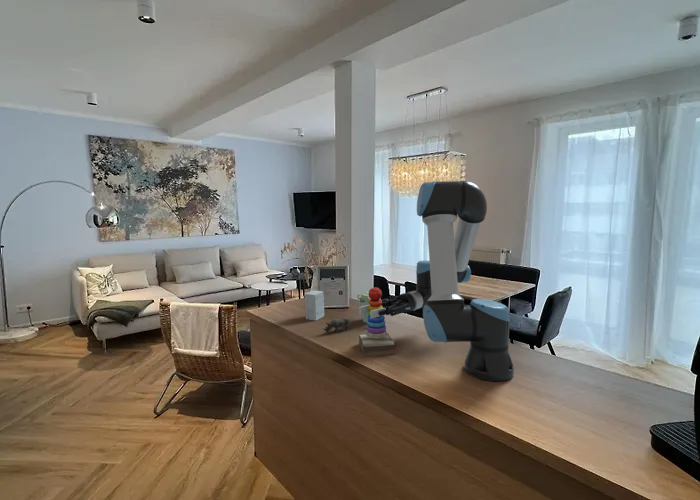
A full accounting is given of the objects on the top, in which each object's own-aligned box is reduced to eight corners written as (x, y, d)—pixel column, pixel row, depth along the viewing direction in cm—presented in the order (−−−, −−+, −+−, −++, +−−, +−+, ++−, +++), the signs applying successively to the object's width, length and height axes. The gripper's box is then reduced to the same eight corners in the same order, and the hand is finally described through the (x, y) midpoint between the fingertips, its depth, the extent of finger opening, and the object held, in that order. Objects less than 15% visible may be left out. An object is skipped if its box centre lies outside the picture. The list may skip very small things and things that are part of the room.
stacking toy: (386, 331, 141) (386, 285, 138) (386, 339, 133) (386, 290, 130) (366, 331, 141) (366, 285, 139) (365, 339, 133) (365, 290, 131)
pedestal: (395, 354, 132) (395, 343, 132) (363, 356, 131) (363, 346, 131) (388, 342, 144) (388, 332, 144) (359, 344, 143) (358, 334, 143)
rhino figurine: (320, 333, 156) (320, 320, 156) (347, 327, 163) (347, 314, 163) (325, 336, 153) (324, 322, 152) (352, 329, 160) (352, 316, 159)
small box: (314, 314, 184) (313, 290, 182) (324, 316, 181) (323, 291, 179) (305, 319, 177) (304, 293, 175) (316, 320, 174) (315, 294, 172)
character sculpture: (348, 318, 177) (347, 291, 175) (366, 313, 183) (366, 288, 181) (372, 329, 160) (372, 299, 159) (392, 323, 167) (392, 295, 165)
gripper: (426, 315, 139) (382, 329, 126) (393, 305, 154) (350, 316, 141) (426, 297, 138) (382, 308, 125) (393, 288, 154) (350, 298, 140)
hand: (365, 312), depth 133 cm, fingers closed on stacking toy, 6 cm apart
